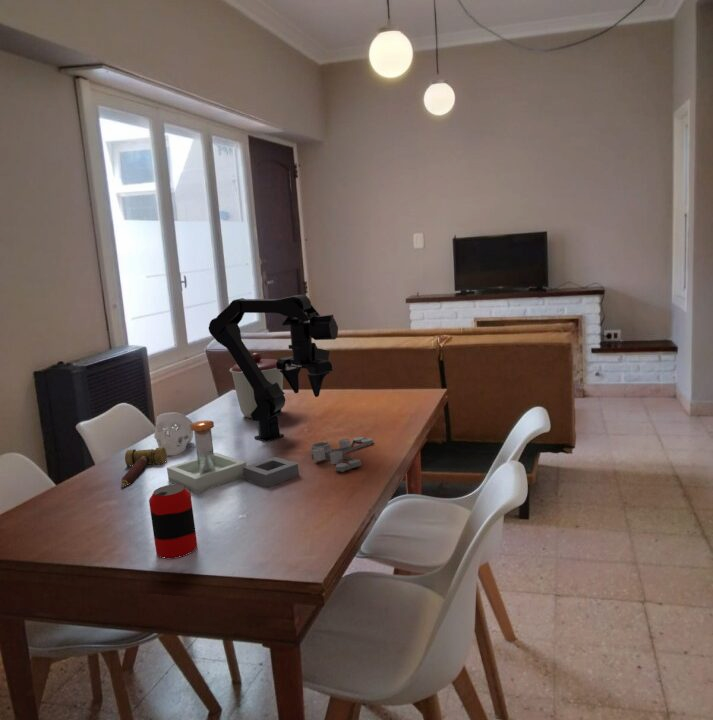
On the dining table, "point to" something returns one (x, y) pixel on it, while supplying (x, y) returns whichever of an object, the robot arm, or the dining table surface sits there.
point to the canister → (245, 389)
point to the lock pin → (204, 445)
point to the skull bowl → (173, 432)
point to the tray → (191, 479)
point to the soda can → (173, 521)
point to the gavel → (141, 461)
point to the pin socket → (271, 471)
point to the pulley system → (338, 453)
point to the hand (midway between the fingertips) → (306, 394)
